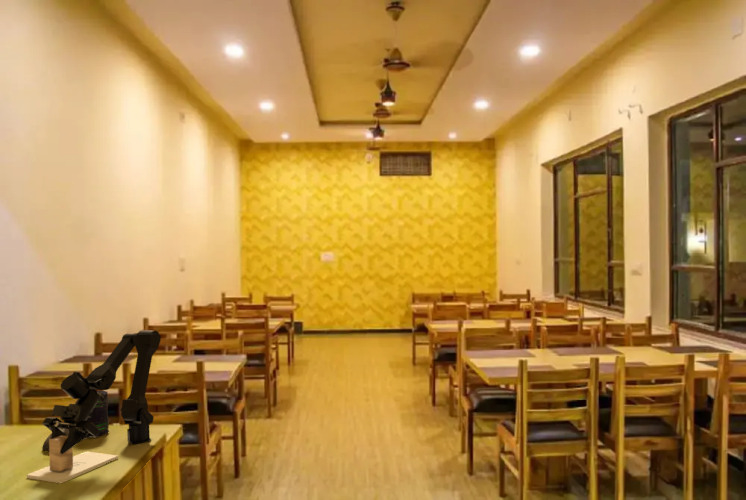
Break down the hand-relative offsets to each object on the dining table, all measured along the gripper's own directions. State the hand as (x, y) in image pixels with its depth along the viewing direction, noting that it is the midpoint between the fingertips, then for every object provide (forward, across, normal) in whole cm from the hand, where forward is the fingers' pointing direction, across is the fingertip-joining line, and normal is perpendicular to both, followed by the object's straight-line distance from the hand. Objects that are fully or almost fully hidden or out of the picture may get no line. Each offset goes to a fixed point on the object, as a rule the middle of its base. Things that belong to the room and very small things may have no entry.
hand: (55, 452), depth 187 cm
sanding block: (+3, 0, +5) cm, 6 cm away
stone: (-9, -22, +19) cm, 31 cm away
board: (0, 0, +10) cm, 10 cm away
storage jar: (-20, -23, +31) cm, 44 cm away
